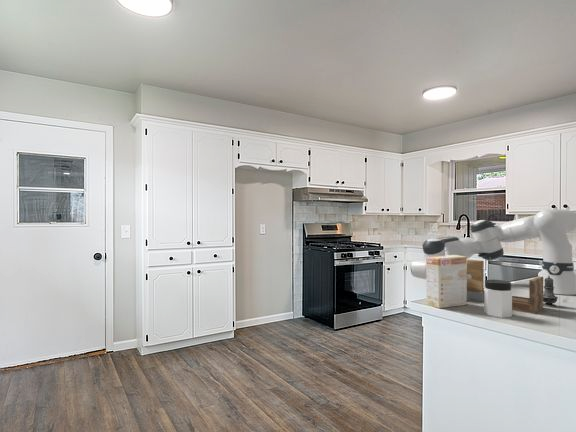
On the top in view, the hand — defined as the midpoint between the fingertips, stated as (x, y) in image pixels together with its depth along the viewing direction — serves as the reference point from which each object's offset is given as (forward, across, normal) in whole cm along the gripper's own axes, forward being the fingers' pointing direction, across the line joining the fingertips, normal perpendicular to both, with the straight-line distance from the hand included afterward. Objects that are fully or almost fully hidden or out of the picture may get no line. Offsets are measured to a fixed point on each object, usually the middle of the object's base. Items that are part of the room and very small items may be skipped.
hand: (476, 275), depth 156 cm
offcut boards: (+16, +5, -10) cm, 20 cm away
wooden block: (0, 0, -10) cm, 10 cm away
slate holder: (-1, 0, -10) cm, 10 cm away
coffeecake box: (-4, +20, -10) cm, 23 cm away
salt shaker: (+24, -9, -10) cm, 28 cm away
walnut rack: (+17, +3, -10) cm, 20 cm away
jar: (+15, +21, -10) cm, 28 cm away
